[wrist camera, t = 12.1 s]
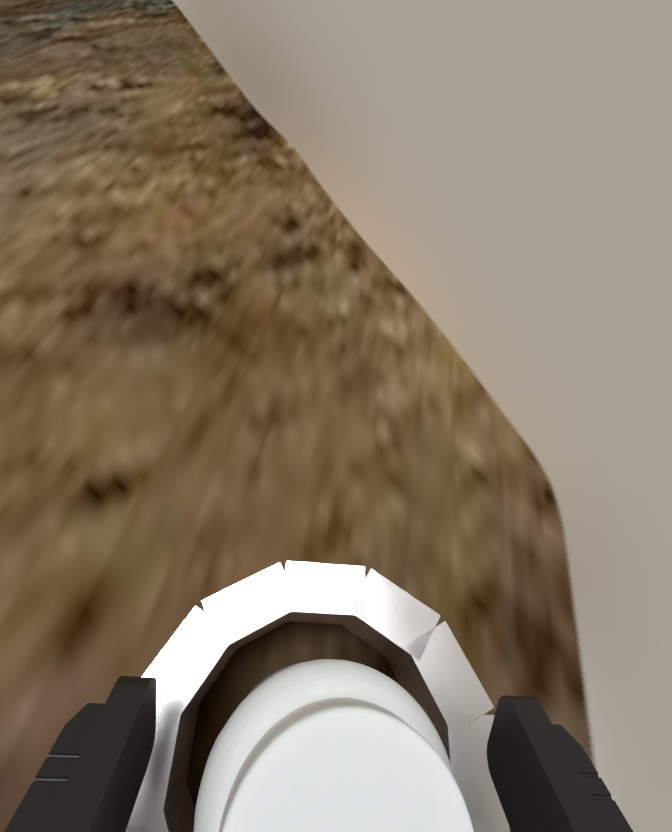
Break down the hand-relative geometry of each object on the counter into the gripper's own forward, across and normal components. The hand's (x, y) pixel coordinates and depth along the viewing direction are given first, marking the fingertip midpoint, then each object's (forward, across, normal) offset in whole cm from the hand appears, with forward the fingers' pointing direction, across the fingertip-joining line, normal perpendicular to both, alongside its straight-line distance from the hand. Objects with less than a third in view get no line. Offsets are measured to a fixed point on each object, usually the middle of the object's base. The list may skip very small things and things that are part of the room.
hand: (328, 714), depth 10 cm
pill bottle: (+3, 0, +6) cm, 7 cm away
